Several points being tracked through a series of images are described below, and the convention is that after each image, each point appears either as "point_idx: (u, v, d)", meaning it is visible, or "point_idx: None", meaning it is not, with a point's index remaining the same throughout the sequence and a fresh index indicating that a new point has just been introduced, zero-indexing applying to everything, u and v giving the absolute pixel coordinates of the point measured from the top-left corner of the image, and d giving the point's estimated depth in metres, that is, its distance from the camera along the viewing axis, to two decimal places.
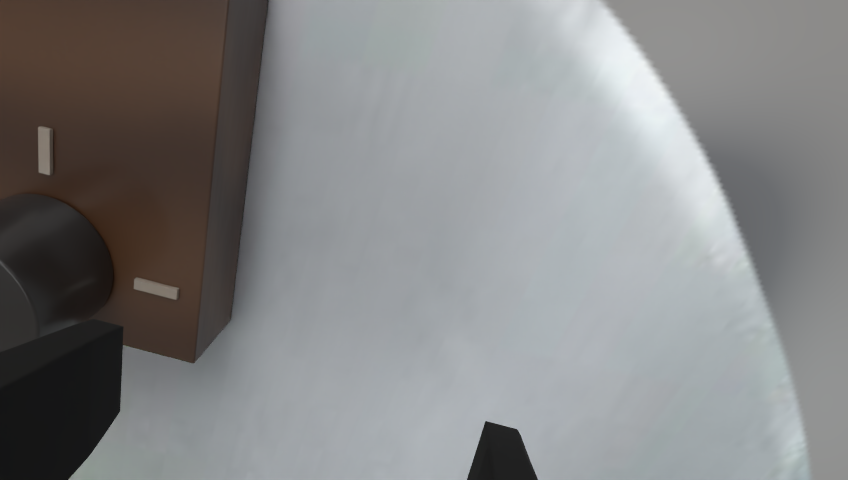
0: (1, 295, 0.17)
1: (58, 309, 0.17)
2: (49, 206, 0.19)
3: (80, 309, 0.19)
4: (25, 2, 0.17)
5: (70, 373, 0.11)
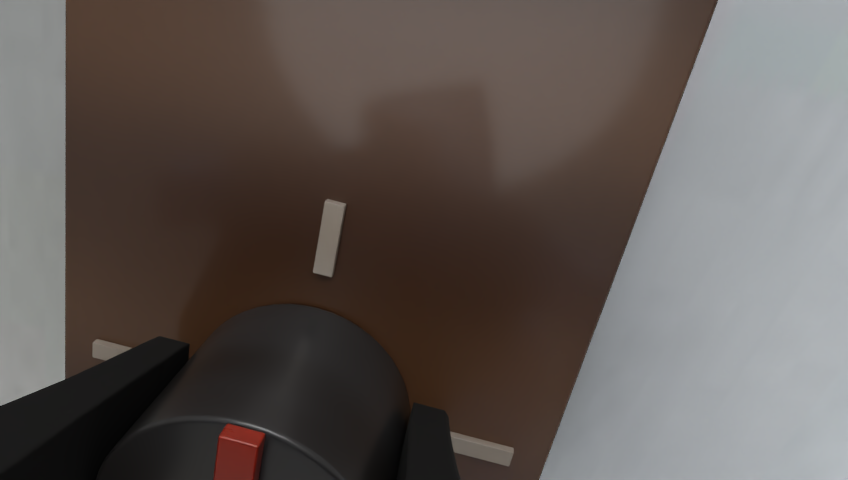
0: None
1: None
2: (334, 330, 0.11)
3: None
4: None
5: (144, 393, 0.11)
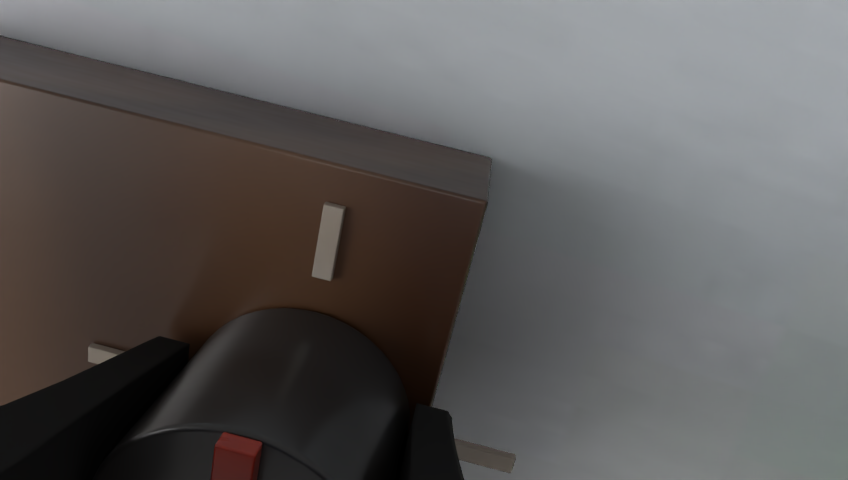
0: None
1: None
2: (333, 335, 0.11)
3: None
4: None
5: (144, 393, 0.11)
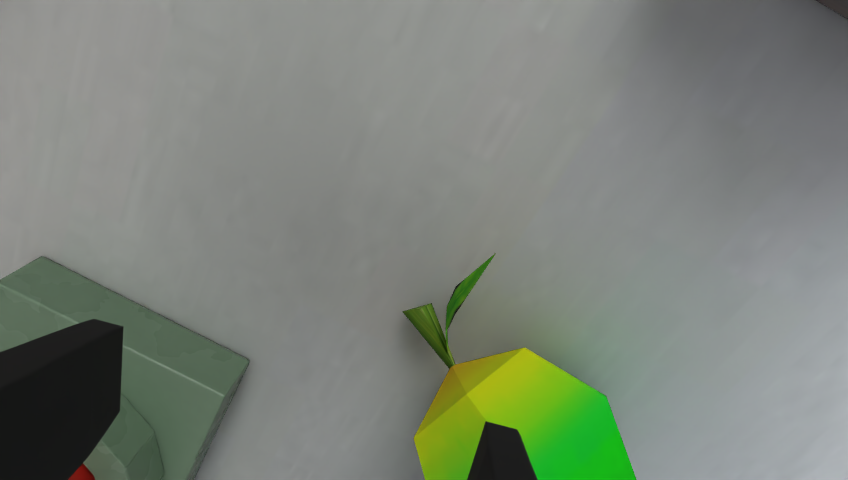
0: None
1: None
2: None
3: None
4: None
5: (70, 373, 0.11)
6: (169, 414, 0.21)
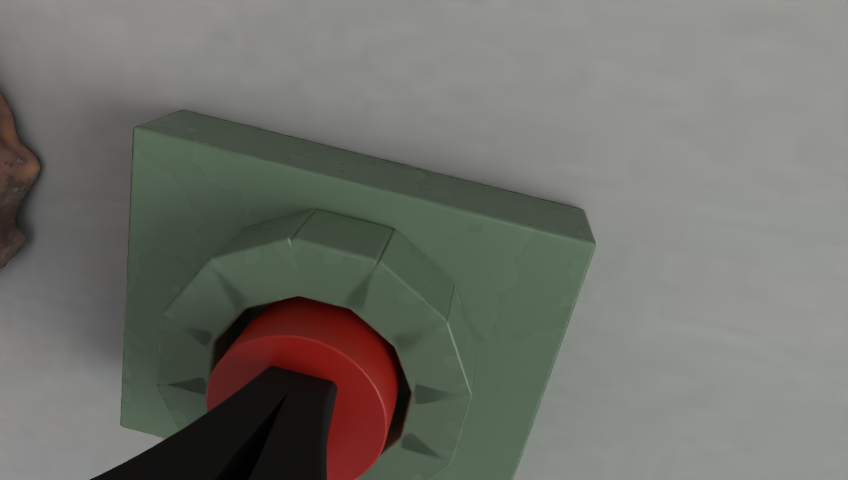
0: None
1: None
2: None
3: None
4: None
5: (272, 426, 0.11)
6: None
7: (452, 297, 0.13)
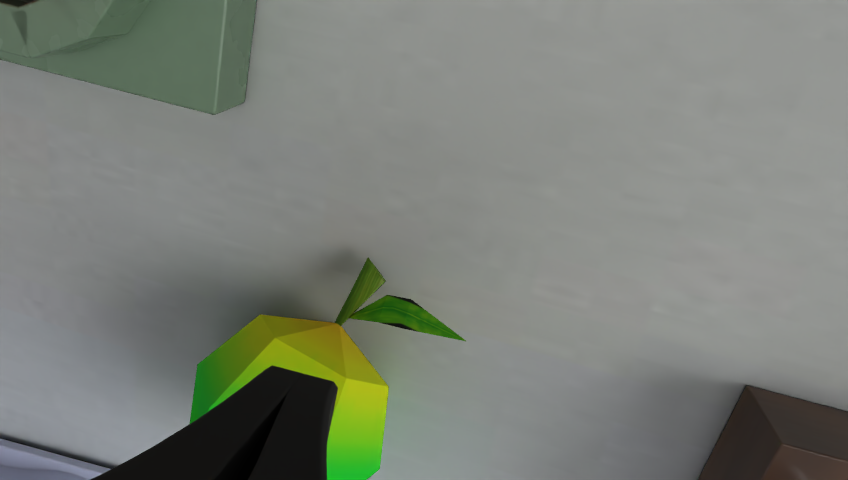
0: None
1: None
2: None
3: None
4: None
5: (272, 426, 0.11)
6: (159, 50, 0.17)
7: None
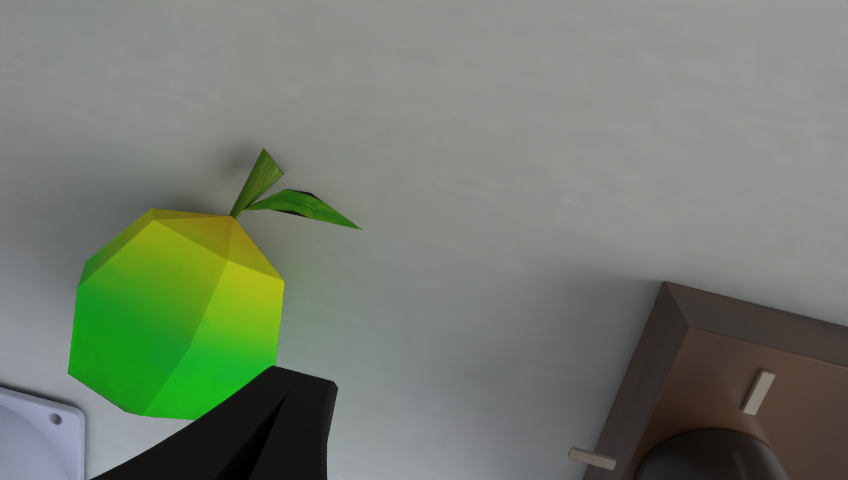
0: None
1: None
2: None
3: None
4: None
5: (272, 426, 0.11)
6: None
7: None
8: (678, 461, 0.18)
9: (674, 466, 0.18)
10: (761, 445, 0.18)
